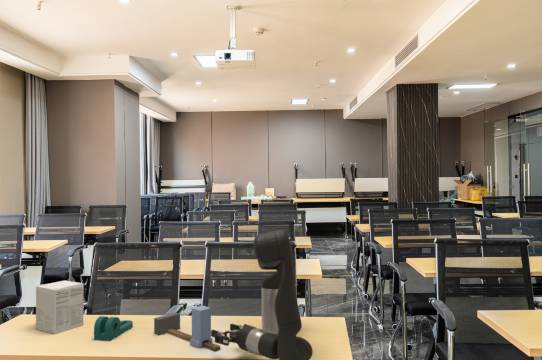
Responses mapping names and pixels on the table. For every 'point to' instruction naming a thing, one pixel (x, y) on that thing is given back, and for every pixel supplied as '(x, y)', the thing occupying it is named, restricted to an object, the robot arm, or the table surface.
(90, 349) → the table surface
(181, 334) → the rail
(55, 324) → the supplement box
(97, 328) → the bracket
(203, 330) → the block
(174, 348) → the table surface
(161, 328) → the stop block
